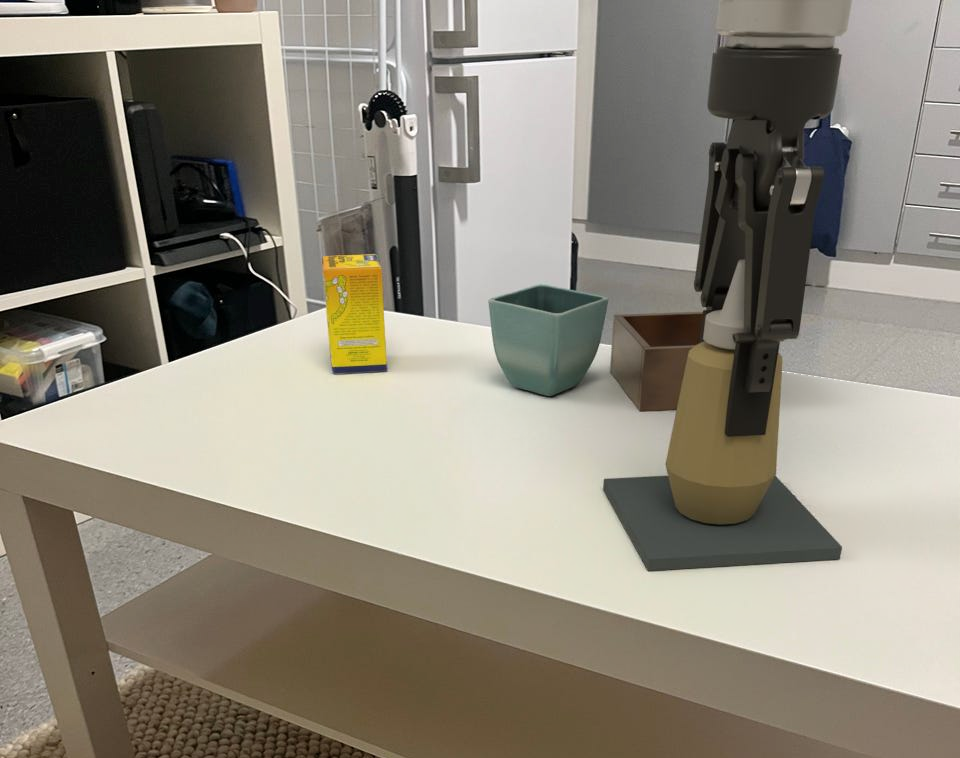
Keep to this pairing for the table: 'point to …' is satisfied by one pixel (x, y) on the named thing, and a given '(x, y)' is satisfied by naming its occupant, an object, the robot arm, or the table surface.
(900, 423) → the table surface
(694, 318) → the box
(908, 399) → the table surface
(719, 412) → the squeeze bottle
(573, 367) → the flower pot
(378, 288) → the supplement box
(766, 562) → the mat
